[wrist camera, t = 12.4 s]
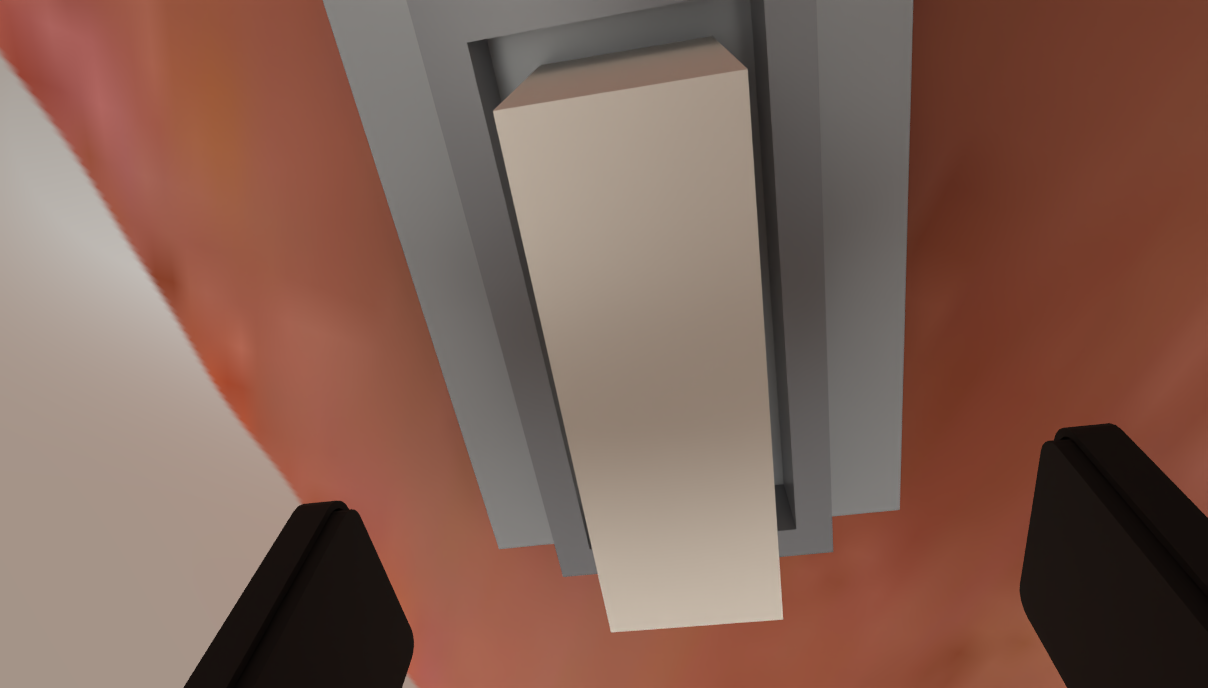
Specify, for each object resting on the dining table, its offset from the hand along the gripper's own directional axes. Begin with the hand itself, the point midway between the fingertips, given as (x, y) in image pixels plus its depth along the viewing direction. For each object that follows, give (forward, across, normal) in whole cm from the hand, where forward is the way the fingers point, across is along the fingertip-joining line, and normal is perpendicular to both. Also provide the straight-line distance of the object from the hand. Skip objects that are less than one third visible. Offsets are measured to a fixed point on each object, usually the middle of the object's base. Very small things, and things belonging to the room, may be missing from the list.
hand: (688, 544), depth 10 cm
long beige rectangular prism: (+10, 0, +1) cm, 10 cm away
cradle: (+11, 0, +1) cm, 11 cm away
